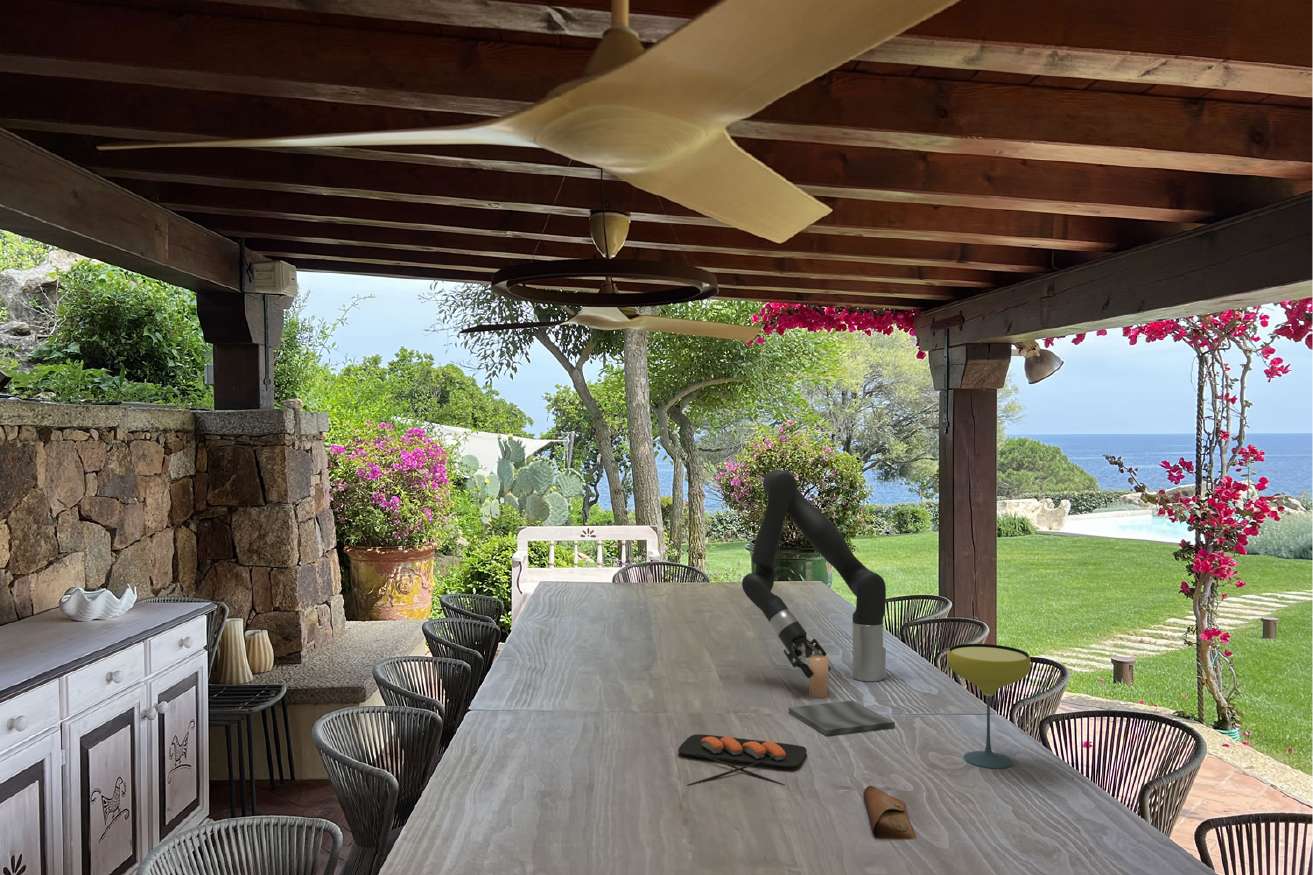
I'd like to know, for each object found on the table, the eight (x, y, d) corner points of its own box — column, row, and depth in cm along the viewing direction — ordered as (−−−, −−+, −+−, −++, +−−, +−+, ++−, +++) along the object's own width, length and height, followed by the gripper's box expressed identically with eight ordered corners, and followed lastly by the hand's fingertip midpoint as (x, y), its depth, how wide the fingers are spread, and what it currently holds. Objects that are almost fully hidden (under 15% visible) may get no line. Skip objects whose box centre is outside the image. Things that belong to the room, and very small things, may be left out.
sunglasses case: (920, 840, 166) (901, 808, 166) (886, 857, 166) (867, 825, 167) (904, 801, 183) (887, 772, 184) (874, 817, 184) (857, 788, 185)
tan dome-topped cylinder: (822, 692, 263) (822, 654, 263) (831, 697, 258) (831, 659, 258) (805, 693, 261) (805, 656, 261) (814, 699, 256) (815, 660, 256)
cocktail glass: (1022, 780, 195) (1022, 665, 195) (938, 764, 204) (938, 654, 204) (1036, 755, 210) (1036, 649, 210) (957, 741, 220) (957, 640, 220)
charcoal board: (852, 705, 249) (852, 700, 249) (894, 727, 230) (894, 721, 230) (788, 712, 243) (788, 707, 243) (826, 736, 224) (826, 730, 224)
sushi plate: (809, 754, 213) (809, 738, 213) (784, 802, 184) (784, 783, 185) (692, 740, 222) (692, 725, 222) (651, 783, 194) (651, 766, 194)
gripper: (780, 624, 260) (813, 670, 252) (809, 617, 270) (841, 662, 262) (766, 639, 264) (797, 686, 256) (794, 632, 274) (826, 676, 266)
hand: (819, 673), depth 259 cm, fingers open, 8 cm apart
